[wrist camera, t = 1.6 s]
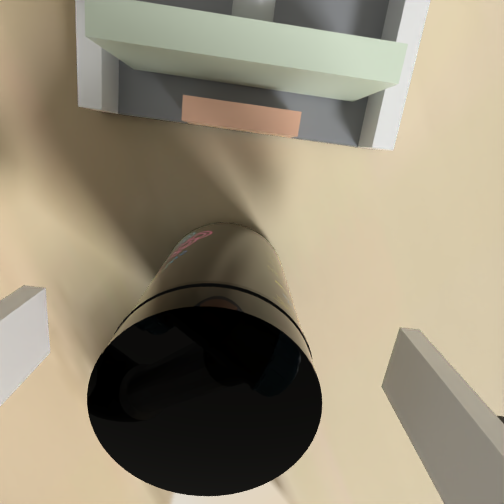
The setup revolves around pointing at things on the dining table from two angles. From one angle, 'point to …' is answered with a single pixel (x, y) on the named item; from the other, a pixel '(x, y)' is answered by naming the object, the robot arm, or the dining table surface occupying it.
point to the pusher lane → (259, 99)
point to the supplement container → (209, 371)
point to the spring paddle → (243, 48)
